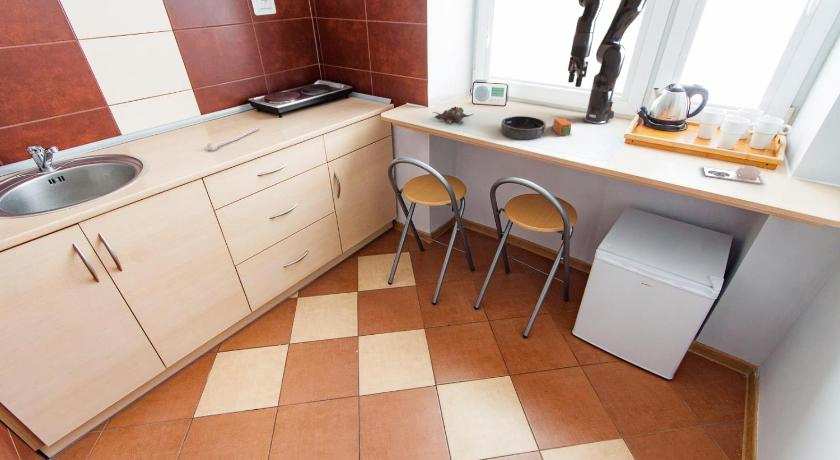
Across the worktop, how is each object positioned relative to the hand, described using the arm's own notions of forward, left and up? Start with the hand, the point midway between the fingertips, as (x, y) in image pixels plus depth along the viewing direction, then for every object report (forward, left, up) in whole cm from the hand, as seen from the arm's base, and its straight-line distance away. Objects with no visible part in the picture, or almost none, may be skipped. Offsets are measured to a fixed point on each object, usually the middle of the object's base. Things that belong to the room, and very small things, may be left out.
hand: (574, 84), depth 170 cm
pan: (+24, +11, -17) cm, 31 cm away
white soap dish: (-33, +61, -17) cm, 71 cm away
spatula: (+151, +5, -17) cm, 152 cm away
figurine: (+52, -11, -17) cm, 56 cm away
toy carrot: (+7, +12, -17) cm, 22 cm away
